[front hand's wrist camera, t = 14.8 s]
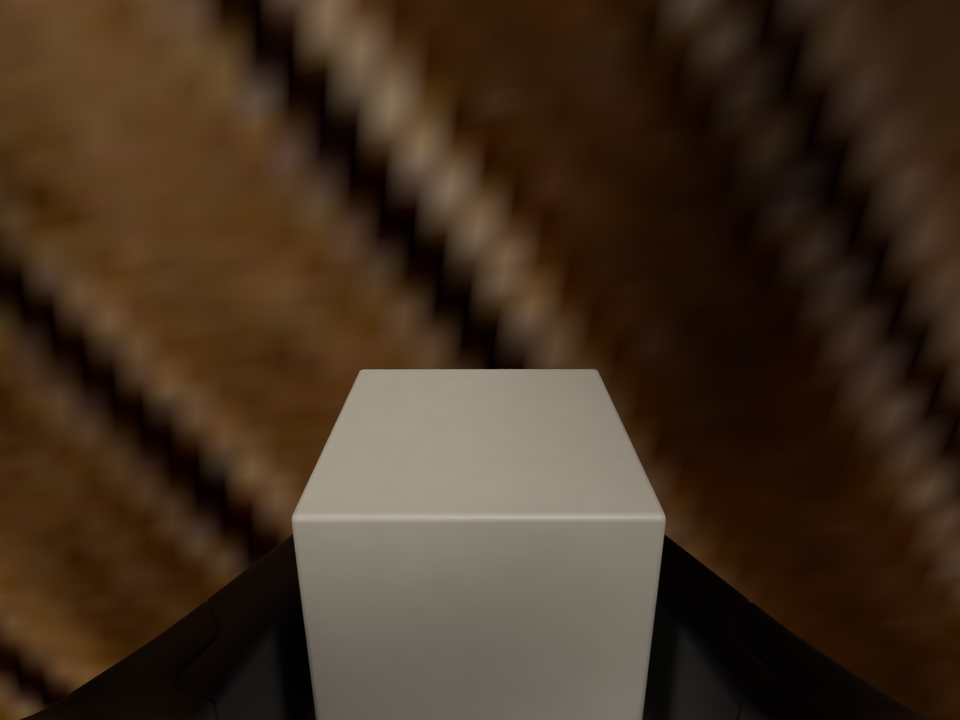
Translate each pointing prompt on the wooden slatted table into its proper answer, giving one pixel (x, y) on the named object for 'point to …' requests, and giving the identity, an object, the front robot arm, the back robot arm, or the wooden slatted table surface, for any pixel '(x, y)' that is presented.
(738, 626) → the front robot arm
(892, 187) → the wooden slatted table surface
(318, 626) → the block
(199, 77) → the wooden slatted table surface
